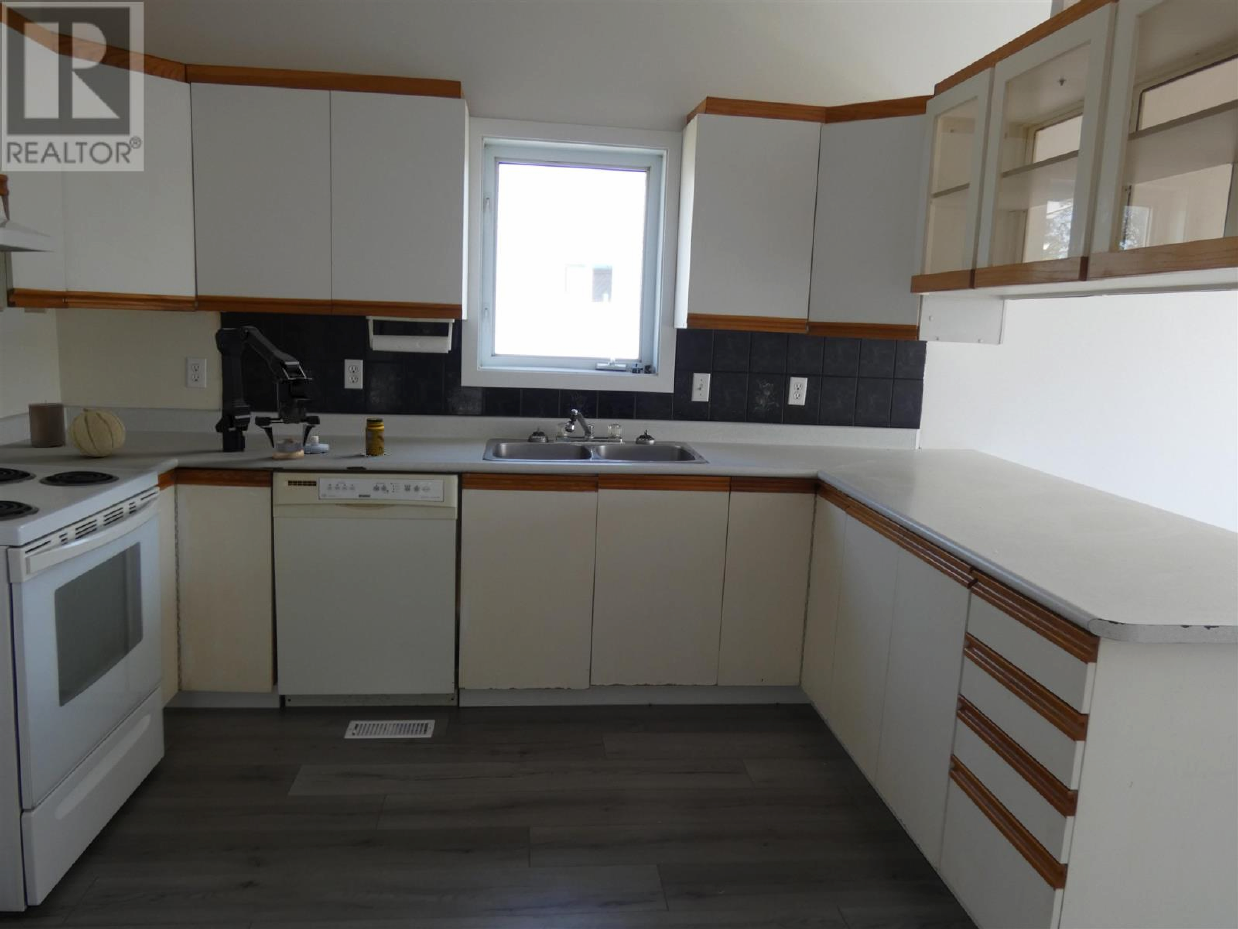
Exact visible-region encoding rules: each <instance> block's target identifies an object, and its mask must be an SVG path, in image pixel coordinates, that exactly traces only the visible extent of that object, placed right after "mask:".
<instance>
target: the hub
mask: <svg viewBox="0 0 1238 929" xmlns="http://www.w3.org/2000/svg"><path fill="white" fill-rule="evenodd" d="M329 446H330V445H329V444H327V443H319V436H318V435H317V436H316V435H311V436H310V443H306V444H305V446H304V447H303V445H302V444H301V450H303V451H304V452H310V453H317V454H322V453H321V452H326V453H329V452H330V447H329ZM310 453H309V454H310Z"/></svg>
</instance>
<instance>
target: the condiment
mask: <svg viewBox="0 0 1238 929" xmlns="http://www.w3.org/2000/svg"><path fill="white" fill-rule="evenodd" d="M365 424H366V426H365V433H364V434H365V435H364V436H365V453H366V455H383V456H385V455H384V454H385V426H384V420H383V418H380V417H369V418H367V419H366V423H365ZM361 453H362V452H357V453H355V454H356V455H359V456H361ZM387 454H388V453H387ZM389 455H390V454H388V455H387V456H389ZM364 457H366V458H367V456H364Z"/></svg>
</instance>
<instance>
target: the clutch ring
mask: <svg viewBox="0 0 1238 929" xmlns="http://www.w3.org/2000/svg"><path fill="white" fill-rule="evenodd" d="M301 443H302V441H301V440H293V439H292V443H284V440H277V441H275V448H276V449H275V450H276V451H277V452H279V453H296V452H301V445H302V444H301Z"/></svg>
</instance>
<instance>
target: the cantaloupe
mask: <svg viewBox="0 0 1238 929" xmlns="http://www.w3.org/2000/svg"><path fill="white" fill-rule="evenodd" d="M82 411H84V412H82V413H79V414H78V415H77V416H75V417H74V418H73V419H72V421H71V423H70V425H69V430H68V431H69V432H68V433H69V440H70V442H71V444H72V446H73V447H74V448H75V449H76V450H77V451H78V452H79V453H81V454H83V455H85V456H86V457H87V456H88V457H91V458H93V457H94V458H99V457H100V458H101V457H102V458H105V457H108V456H110V455H111V454H112V453H115V452H116V451H118V450H119V449H121V447H122V446H123V445H124V443H125V441H126V428H125V425H124V423H123V422H122V420H121V419H120V418H119V417H118V416H117V415H116V414H115V413H113V412H111V411H110V410H109V411H108V410H106V409H101V408H100V409H99V408H97V409H96V408H95V409H90V408H89V409H88V408H86V407H85V408H83V409H82Z"/></svg>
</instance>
